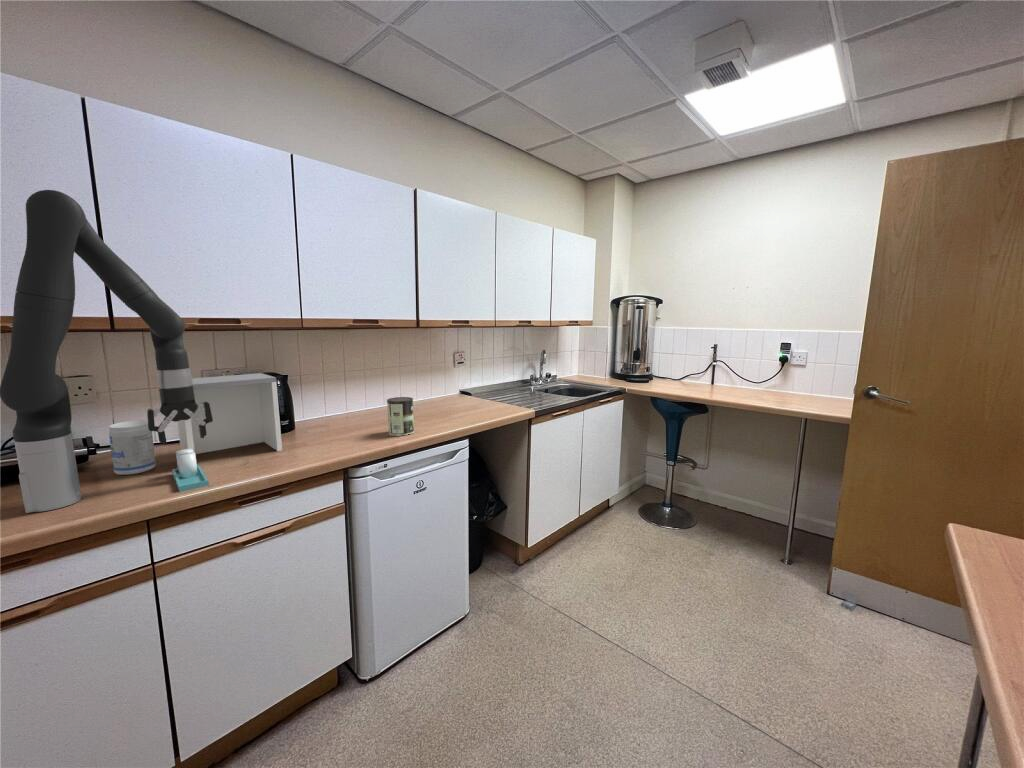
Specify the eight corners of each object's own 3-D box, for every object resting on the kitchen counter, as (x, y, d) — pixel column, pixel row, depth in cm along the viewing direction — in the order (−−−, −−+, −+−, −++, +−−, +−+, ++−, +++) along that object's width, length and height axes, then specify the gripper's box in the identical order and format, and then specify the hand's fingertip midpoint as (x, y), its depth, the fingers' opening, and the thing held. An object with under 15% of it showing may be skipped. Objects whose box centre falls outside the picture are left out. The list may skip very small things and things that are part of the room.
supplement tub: (105, 475, 123) (98, 426, 121) (138, 464, 132) (131, 419, 130) (133, 476, 121) (127, 427, 119) (164, 465, 131) (158, 420, 129)
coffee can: (412, 428, 176) (411, 396, 174) (416, 434, 167) (414, 400, 165) (387, 431, 172) (385, 397, 170) (389, 437, 163) (388, 402, 161)
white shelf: (190, 468, 128) (180, 385, 124) (181, 455, 141) (172, 379, 137) (282, 450, 146) (276, 377, 143) (267, 440, 159) (261, 373, 155)
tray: (209, 486, 115) (206, 460, 114) (179, 493, 110) (176, 466, 109) (199, 470, 128) (196, 446, 127) (172, 475, 123) (169, 451, 122)
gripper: (143, 389, 108) (152, 449, 111) (209, 383, 118) (216, 438, 121) (141, 387, 114) (150, 443, 116) (204, 380, 124) (211, 433, 126)
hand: (184, 440), depth 119 cm, fingers open, 8 cm apart
